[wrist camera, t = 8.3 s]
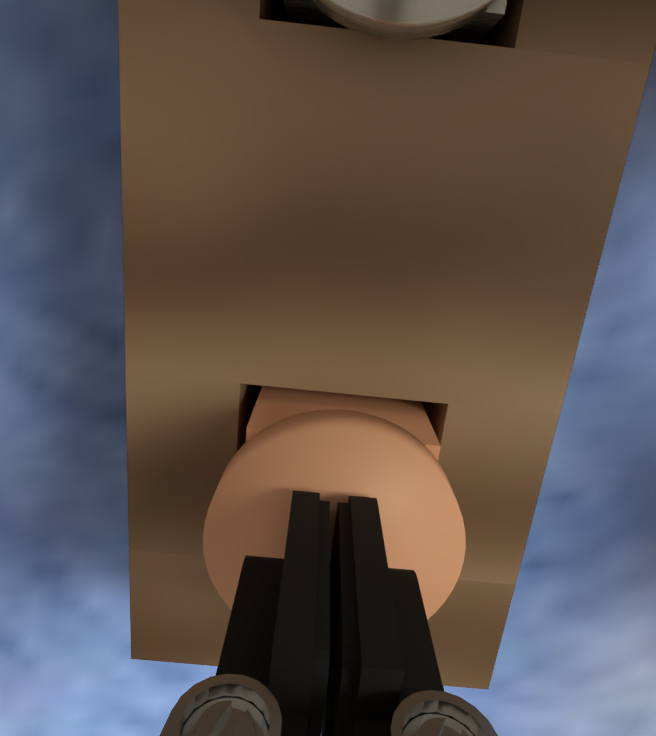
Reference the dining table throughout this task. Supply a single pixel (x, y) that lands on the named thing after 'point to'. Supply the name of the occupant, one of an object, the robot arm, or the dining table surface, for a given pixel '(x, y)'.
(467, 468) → the plug block
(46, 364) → the dining table surface
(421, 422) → the terracotta plug
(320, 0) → the plug
